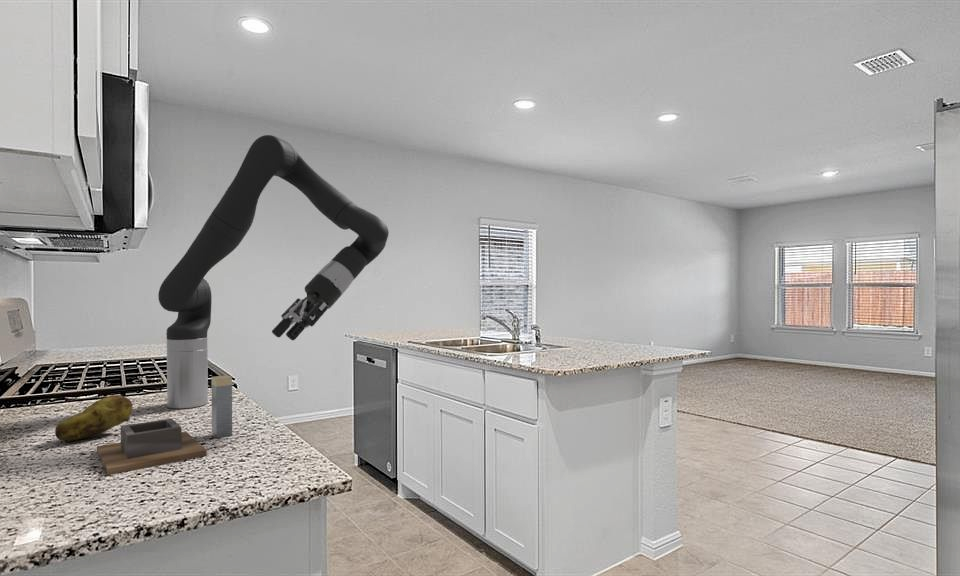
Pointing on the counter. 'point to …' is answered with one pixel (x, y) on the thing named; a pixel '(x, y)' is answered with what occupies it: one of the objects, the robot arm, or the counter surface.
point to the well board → (149, 446)
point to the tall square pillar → (221, 406)
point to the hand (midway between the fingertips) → (281, 336)
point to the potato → (95, 419)
